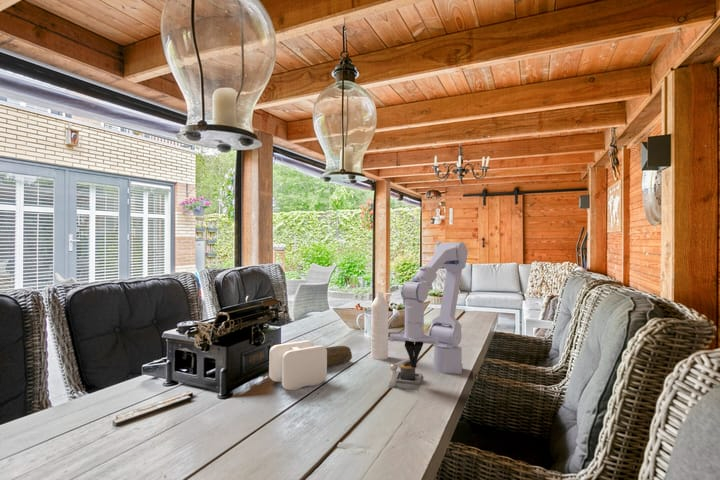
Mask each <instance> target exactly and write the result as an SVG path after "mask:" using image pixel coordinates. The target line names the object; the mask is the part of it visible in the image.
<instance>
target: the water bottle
mask: <svg viewBox="0 0 720 480" xmlns="http://www.w3.org/2000/svg"><path fill="white" fill-rule="evenodd" d="M385 297H392V293H391V292H385V293H384V292H382V291H379V292H376V296H375V298H374V299H373V301H372V302H371V305H370V309H371V314H370V315H371V316H370V317H371V319H370V323H371V326H370V331H371V332H370V358H371V359H373V360H378V361H379V360H380V361H381V360H387V359H388V358H389V308H390V307H389V303H388V301H387V300H386V298H385Z"/></svg>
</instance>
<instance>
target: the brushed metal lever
mask: <svg viewBox="0 0 720 480" xmlns="http://www.w3.org/2000/svg"><path fill="white" fill-rule="evenodd" d="M409 362H410V358H409V357H407V358H405V359H403V360H400V361H398V362H395V363H390V370H391V369H396V370H397V369H398V368H399V367H400V366H402V365H404V364H406V363H409Z"/></svg>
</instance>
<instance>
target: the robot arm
mask: <svg viewBox="0 0 720 480" xmlns="http://www.w3.org/2000/svg"><path fill="white" fill-rule="evenodd" d="M467 259H468V248H467V245H466V244H465V243H464V242H462V241H461V242H442V241H439V242H437V243H436V244H435V246H434V248H433V255H432V257H431V258H430V260H429V261H428V263H427V265H422V266H421V267H420V268H419V269H418V271H417V272H416V274H414V276H413V277H412V278H411V280H410V281H406V282H404V283H403V285H402V286H401V290H400V297H401V298H402V304H403V305H404V333H390V335H389V341H390V342H403V343H404V348H405V350H406V352H407V355H408V358H410V362H411V367H413V368H415V369H416V368H417V365H418V363H417V362H418V358H419V356H420V353H421V351H422V349H423V345H424V344H429V345H430V344H431V345H433V370H434V371H435V372H438V373H441V374H456V375H462V373H463V372H462V370H463V368H464V366H463V363H462V361H463V360H462V359H463V355H462V354H463V353H462V352H463V351H462V348H463V347H462V346H459V345H460V344H461V341H462V335H463V334H462V325H461V323H460V322H459V320H457V318H456V317H455V316H456V311H457V305H458V298H459V290H460V287H461V286H460V284H461V279H462V271H463V270H464V269H465V268H466V267H467V266H466V265H467ZM441 267H442V268H444V269H445V270H446V275H445V279H444V280H445V281H444V286H443V290H442V291H443V292H442V298H441V305H440V309H439V315H437V316H436V317H434V318H432V320H431V324H430V327H429V328H428V332H427V333H428V334H426V335H425V326H424V325H425V319H424V318H425V301H426V300H427V299H428V296H429V292H430V288H431V285H432V284H433V283H434V282H435V280H436V279H437V272H438V271H439V269H441Z"/></svg>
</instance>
